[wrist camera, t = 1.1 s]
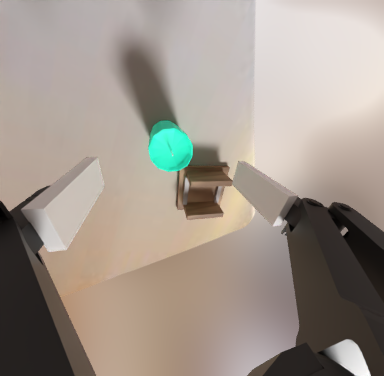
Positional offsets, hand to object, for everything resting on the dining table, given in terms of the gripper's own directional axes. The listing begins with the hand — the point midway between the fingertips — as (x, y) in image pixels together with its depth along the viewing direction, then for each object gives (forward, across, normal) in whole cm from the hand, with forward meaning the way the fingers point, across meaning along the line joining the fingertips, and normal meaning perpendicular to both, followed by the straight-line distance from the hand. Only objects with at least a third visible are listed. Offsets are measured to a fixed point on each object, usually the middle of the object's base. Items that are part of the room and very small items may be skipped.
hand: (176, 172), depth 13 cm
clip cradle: (+17, +9, -12) cm, 22 cm away
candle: (+17, 0, 0) cm, 17 cm away
